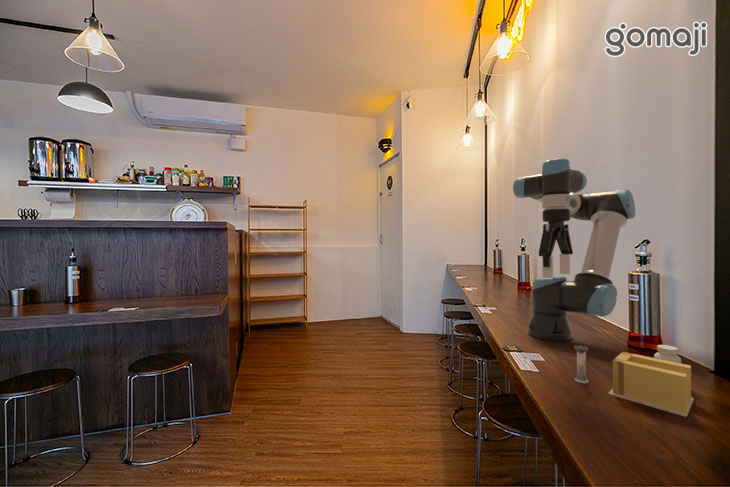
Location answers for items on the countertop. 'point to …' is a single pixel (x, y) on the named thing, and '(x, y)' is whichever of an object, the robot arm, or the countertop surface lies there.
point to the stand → (581, 364)
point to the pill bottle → (667, 353)
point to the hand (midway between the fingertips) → (556, 275)
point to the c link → (652, 380)
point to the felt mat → (654, 404)
